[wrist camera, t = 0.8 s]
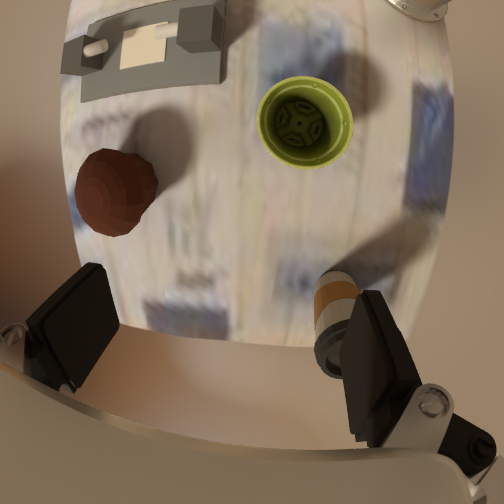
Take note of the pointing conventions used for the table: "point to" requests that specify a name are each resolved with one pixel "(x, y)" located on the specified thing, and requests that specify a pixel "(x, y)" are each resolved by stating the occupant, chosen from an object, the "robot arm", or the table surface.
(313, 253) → the table surface
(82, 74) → the shaft stand
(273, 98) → the plant pot
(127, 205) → the muffin
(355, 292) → the coffee cup
